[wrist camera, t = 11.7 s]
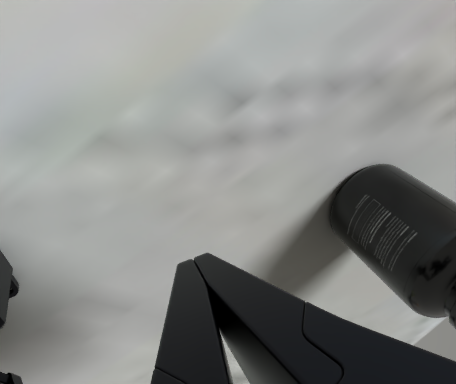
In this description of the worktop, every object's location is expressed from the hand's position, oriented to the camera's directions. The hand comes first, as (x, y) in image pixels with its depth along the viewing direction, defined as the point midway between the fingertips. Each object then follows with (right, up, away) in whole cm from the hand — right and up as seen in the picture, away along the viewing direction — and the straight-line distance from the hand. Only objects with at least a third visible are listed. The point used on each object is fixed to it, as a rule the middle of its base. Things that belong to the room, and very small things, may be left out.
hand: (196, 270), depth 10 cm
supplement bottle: (+11, +1, +20) cm, 23 cm away
